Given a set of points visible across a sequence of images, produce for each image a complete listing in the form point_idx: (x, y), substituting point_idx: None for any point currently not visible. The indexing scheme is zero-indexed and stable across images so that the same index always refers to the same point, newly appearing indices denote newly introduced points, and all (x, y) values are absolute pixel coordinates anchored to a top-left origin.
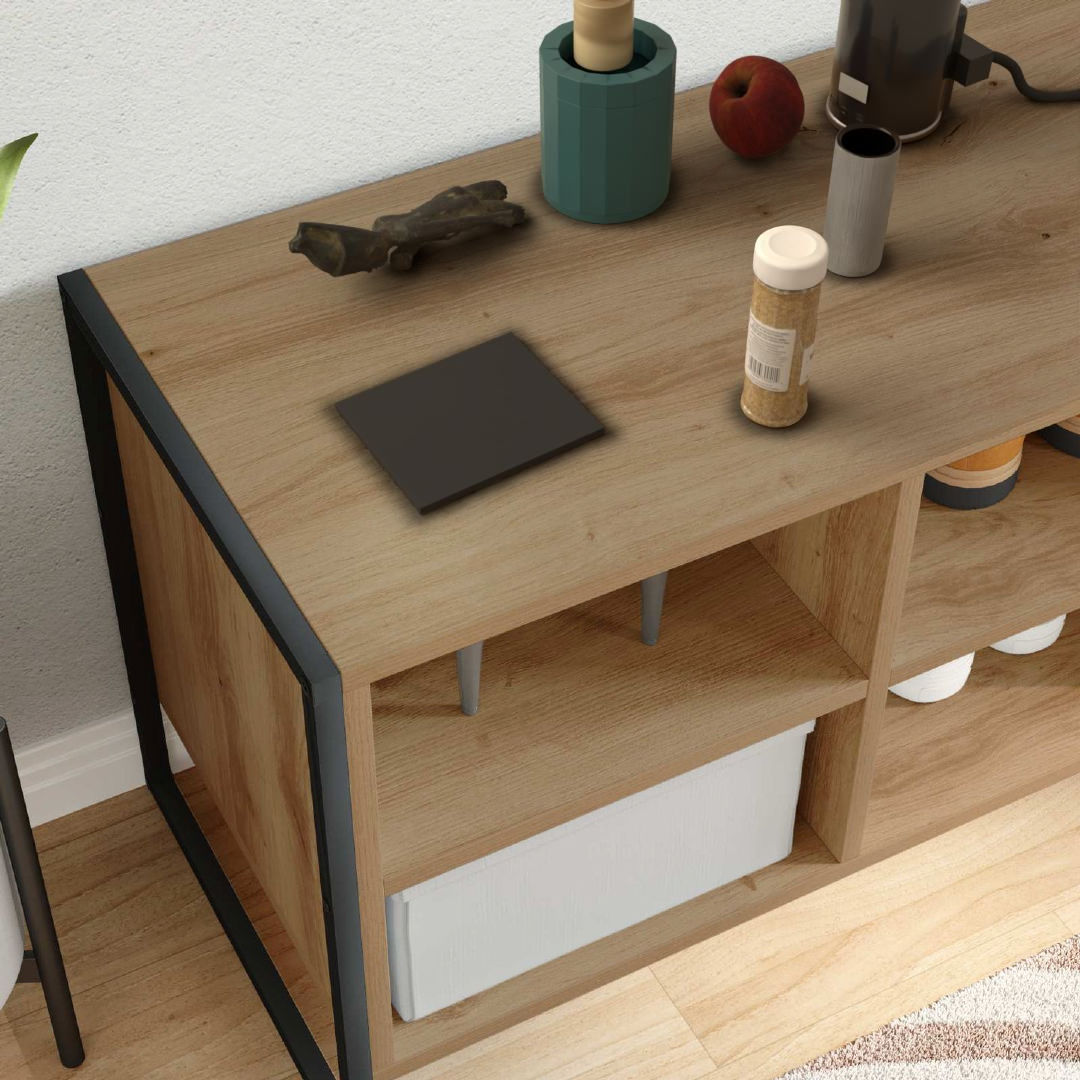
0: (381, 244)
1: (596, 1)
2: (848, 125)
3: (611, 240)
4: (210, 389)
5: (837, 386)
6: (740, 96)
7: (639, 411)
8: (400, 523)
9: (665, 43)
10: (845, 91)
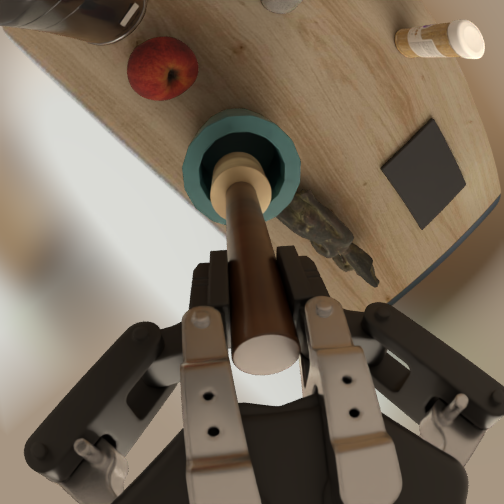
0: (354, 248)
1: (259, 198)
2: (137, 20)
3: (291, 131)
4: (407, 273)
5: (386, 13)
6: (171, 75)
7: (418, 103)
8: (466, 189)
9: (220, 128)
10: (127, 21)
